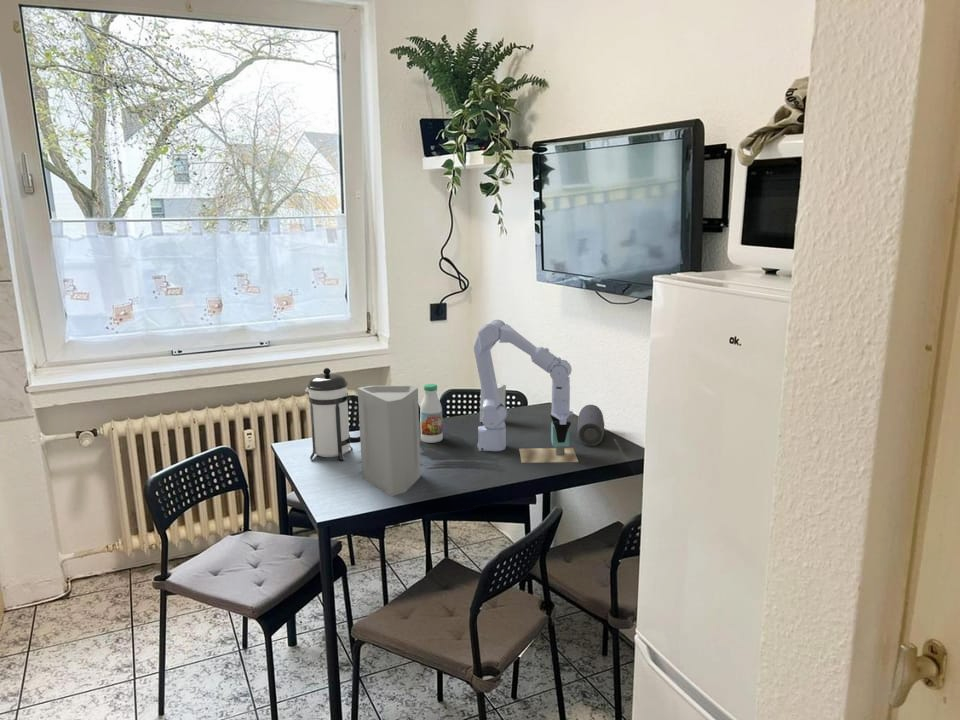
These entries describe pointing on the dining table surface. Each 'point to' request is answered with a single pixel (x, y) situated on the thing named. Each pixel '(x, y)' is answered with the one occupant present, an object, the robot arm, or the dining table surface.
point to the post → (560, 450)
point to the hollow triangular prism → (389, 436)
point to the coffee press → (330, 415)
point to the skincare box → (501, 393)
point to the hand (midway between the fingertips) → (560, 439)
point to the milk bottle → (431, 415)
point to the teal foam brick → (554, 437)
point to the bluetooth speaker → (590, 425)
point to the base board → (546, 455)
